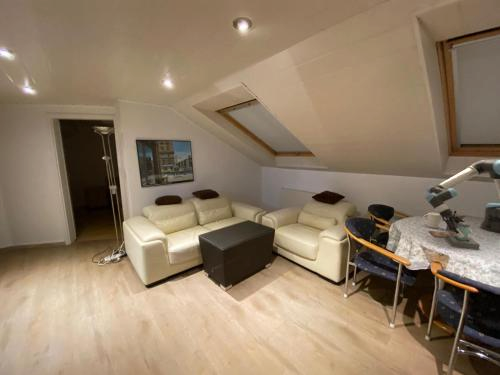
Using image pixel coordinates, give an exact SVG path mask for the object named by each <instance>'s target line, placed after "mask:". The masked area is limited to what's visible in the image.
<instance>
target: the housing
mask: <svg viewBox="0 0 500 375" xmlns="http://www.w3.org/2000/svg"><path fill="white" fill-rule="evenodd" d="M445 241H446V242H448V243H449V245H451V246H452V247H453V248H459V249H460V248H461V249H469V250H470V249H471V250H477V249H478V250H477V251H479V250H480V247H481V246H480V243H478V242H477V240H474V239H473V238H472V237H470V236H468V238H467V241H458V240H457V234H455V235H446V238H445Z"/></svg>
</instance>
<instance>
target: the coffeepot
mask: <svg viewBox="0 0 500 375" xmlns="http://www.w3.org/2000/svg"><path fill="white" fill-rule="evenodd" d="M451 214H452V215H453V214H455V215H456V216H457V217H459V218H460V219H462V220H463V219H464V218H466V216H465V215H463V214H461V213H458V212H457V210H454V211H453V213H451ZM441 218H442V221H444V222H445V220H444V219H443V218H445V217H442V216H441ZM454 224H455V227H456V229H458V226H459V225H458V223H456V222H454ZM445 230H446V232H449V233H453V234H456V233H455V232H454V231H453V230H452V231H451V230H450V229H449V227H448V225H447V224H446V227H445Z"/></svg>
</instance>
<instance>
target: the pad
mask: <svg viewBox="0 0 500 375" xmlns="http://www.w3.org/2000/svg"><path fill="white" fill-rule="evenodd" d="M428 233H429V234H430V235H431V236H432V237H433V238H440V239H446V235H456V233H454V232H449V231H439V230H438V231H437V230H428Z"/></svg>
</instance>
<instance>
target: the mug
mask: <svg viewBox="0 0 500 375" xmlns="http://www.w3.org/2000/svg"><path fill="white" fill-rule="evenodd" d="M426 216H427V220H426V219H425V218H424V217H426ZM440 218H441V215H440V214H439V213H438V212H428V213H427V214H424V215H423V217H422V219H423V221H424V222H426V226H427V227H429V228H434V229H438V228H439V227H440Z"/></svg>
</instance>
